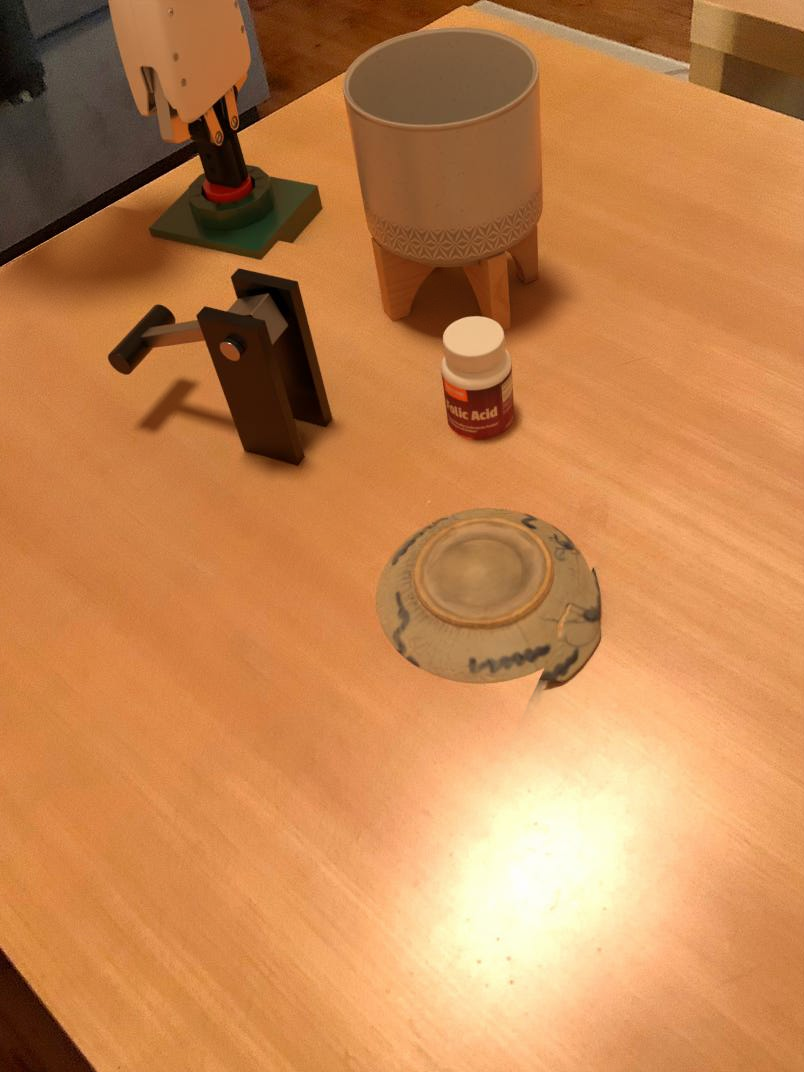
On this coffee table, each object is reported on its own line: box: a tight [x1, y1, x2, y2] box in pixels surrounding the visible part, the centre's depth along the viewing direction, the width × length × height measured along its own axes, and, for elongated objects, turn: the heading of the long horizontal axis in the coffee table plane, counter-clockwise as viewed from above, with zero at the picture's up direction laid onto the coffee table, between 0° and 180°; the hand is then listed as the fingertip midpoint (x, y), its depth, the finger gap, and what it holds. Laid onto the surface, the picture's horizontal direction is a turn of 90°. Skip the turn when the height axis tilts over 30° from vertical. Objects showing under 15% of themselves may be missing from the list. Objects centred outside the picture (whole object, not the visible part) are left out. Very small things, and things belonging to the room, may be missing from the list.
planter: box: [342, 26, 544, 332], centre depth 76 cm, size 13×13×18 cm
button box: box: [148, 164, 323, 261], centre depth 89 cm, size 11×10×4 cm
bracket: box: [195, 267, 333, 467], centre depth 69 cm, size 12×9×13 cm
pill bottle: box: [440, 315, 516, 441], centre depth 71 cm, size 5×5×8 cm
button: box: [203, 174, 253, 203], centre depth 88 cm, size 4×4×2 cm
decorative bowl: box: [375, 507, 602, 685], centre depth 64 cm, size 15×4×15 cm
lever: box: [107, 293, 288, 376], centre depth 69 cm, size 13×6×2 cm, turn 66°
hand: (228, 180), depth 87 cm, fingers closed
